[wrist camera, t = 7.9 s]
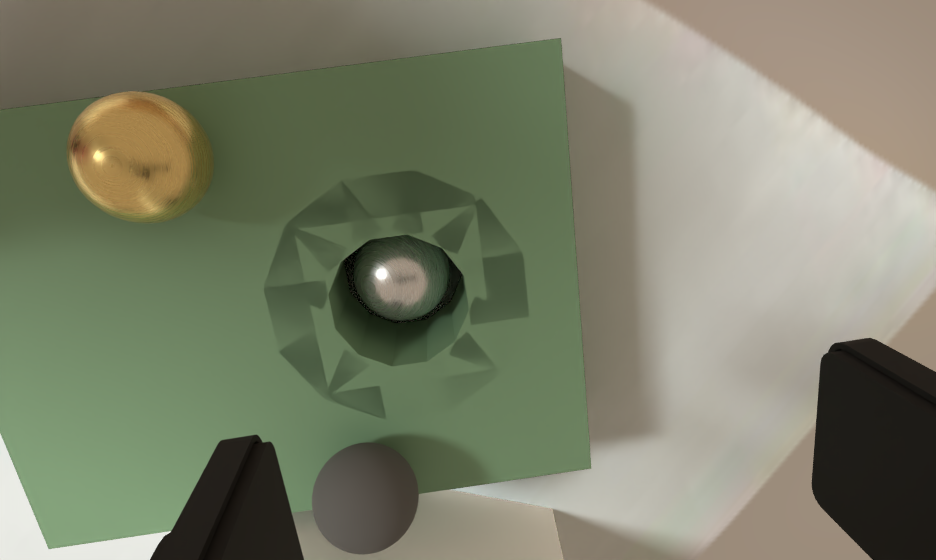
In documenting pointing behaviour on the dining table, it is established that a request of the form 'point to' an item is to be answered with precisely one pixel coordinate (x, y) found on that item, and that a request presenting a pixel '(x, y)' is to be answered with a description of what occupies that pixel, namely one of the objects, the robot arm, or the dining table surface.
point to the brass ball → (140, 157)
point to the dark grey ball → (365, 498)
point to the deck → (296, 292)
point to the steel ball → (401, 276)
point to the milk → (454, 532)
